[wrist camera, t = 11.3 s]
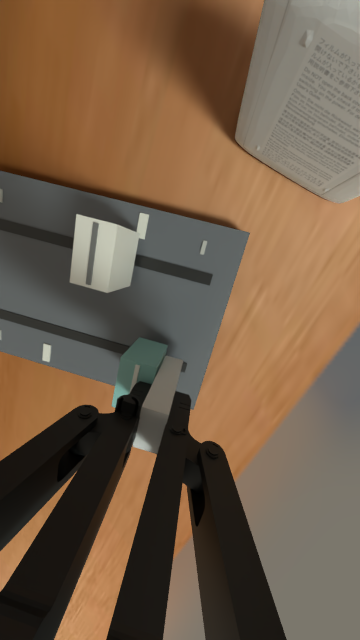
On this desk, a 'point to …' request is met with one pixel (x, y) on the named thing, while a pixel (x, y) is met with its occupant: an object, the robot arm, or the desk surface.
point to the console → (117, 306)
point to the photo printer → (306, 95)
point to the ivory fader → (102, 254)
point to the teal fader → (138, 366)
